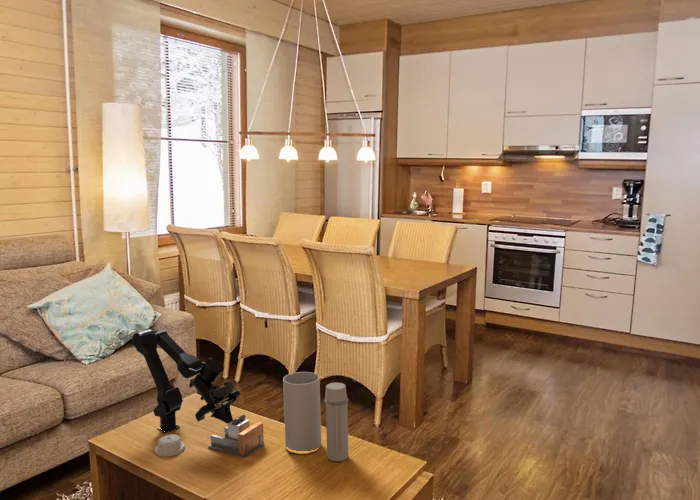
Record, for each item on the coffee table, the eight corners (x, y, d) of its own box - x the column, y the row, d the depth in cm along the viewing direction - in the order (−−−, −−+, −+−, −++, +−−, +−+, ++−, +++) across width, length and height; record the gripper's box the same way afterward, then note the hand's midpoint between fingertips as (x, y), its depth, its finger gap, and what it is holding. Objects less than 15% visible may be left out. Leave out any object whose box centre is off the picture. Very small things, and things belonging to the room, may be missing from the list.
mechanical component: (149, 456, 192) (175, 458, 190) (148, 443, 192) (175, 446, 189) (164, 442, 202) (190, 444, 200) (163, 431, 201) (189, 433, 199)
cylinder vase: (328, 443, 198) (326, 375, 195) (307, 458, 187) (305, 386, 184) (299, 436, 204) (297, 369, 201) (278, 450, 194) (275, 380, 191)
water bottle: (326, 452, 191) (324, 382, 188) (349, 452, 191) (347, 381, 188) (325, 466, 182) (323, 392, 179) (349, 465, 182) (348, 391, 179)
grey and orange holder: (208, 448, 196) (207, 426, 196) (229, 435, 206) (228, 414, 205) (244, 457, 189) (243, 435, 188) (264, 444, 198) (263, 422, 198)
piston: (228, 445, 195) (227, 419, 194) (239, 438, 200) (238, 413, 199) (239, 448, 193) (238, 422, 192) (250, 441, 198) (249, 415, 197)
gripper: (199, 384, 190) (226, 421, 186) (235, 368, 206) (261, 402, 202) (183, 403, 194) (209, 439, 190) (220, 385, 211) (244, 419, 207)
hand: (232, 424), depth 197 cm, fingers closed, pressing on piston
